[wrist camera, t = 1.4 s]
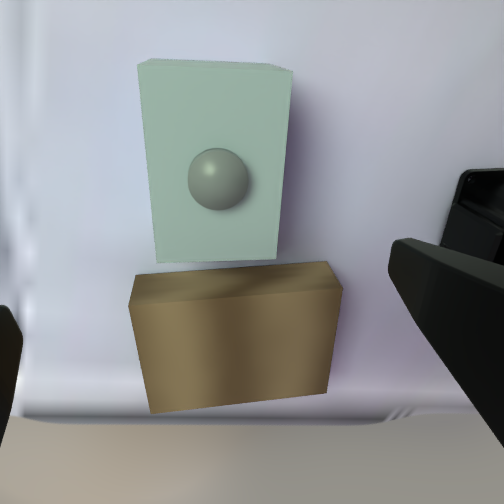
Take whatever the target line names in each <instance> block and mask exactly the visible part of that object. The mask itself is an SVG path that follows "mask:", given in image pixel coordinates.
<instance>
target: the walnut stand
mask: <svg viewBox="0 0 504 504" xmlns="http://www.w3.org/2000/svg"><path fill="white" fill-rule="evenodd" d="M342 291H343V287H342V286H341V284H340V283H339V281H338V279H337V278H336V276H335V274H334V273H333V271H332V269H331V268H330V266H329V265H328V263H327V261H324V262H310V263H296V264H282V265H268V266H254V267H241V268H227V269H213V270H199V271H185V272H171V273H157V274H144V275H136V276H135V280H134V284H133V288H132V292H131V297H130V301H129V305H128V307H129V312H130V316H131V321H132V326H133V331H134V336H135V340H136V345H137V350H138V355H139V360H140V365H141V369H142V374H143V379H144V384H145V389H146V393H147V398H148V403H149V408H150V413H151V414H156V413H164V412H173V411H181V410H189V409H198V408H206V407H215V406H223V405H232V404H240V403H248V402H257V401H265V400H274V399H282V398H291V397H299V396H307V395H316V394H324V393H327V386H328V380H329V374H330V367H331V361H332V355H333V348H334V342H335V335H336V329H337V323H338V316H339V310H340V304H341V297H342Z"/></svg>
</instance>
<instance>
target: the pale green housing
mask: <svg viewBox="0 0 504 504" xmlns="http://www.w3.org/2000/svg"><path fill="white" fill-rule="evenodd" d="M137 69H138V79H139V89H140V99H141V109H142V119H143V129H144V139H145V149H146V159H147V169H148V180H149V190H150V200H151V210H152V220H153V230H154V240H155V250H156V260H157V263H177V262H206V261H235V260H264V259H276V253H277V242H278V231H279V220H280V209H281V198H282V187H283V175H284V164H285V153H286V142H287V131H288V120H289V108H290V97H291V86H292V75H293V71H291V70H287V69H284V68H281V67H278V66H274V65H271V64H264V63H241V62H218V61H195V60H172V59H149V60H147V61H145V62H142V63H140V64H138V65H137Z"/></svg>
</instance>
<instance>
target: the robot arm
mask: <svg viewBox="0 0 504 504" xmlns="http://www.w3.org/2000/svg"><path fill="white" fill-rule="evenodd" d="M471 176H472V177H471ZM469 177H471V179H470V180H469V181H468V179H469ZM388 273H389V276H390V278H391V280H392V282H393V284H394V285H395V287H396V289H397V291H398V293H399V294H400V296H401V298H402V300H403V302H404V303H405V305H406V307H407V309H408V311H409V312H410V314H411V316H412V318H413V319H414V321H415V323H416V324H417V326H418V327H419V329H420V330H421V332H422V333H423V335H424V336H425V337H426V339H427V340H428V342H429V343H430V344H431V346H432V347H433V349H434V350H435V351H436V353H437V354H438V356H439V357H440V359H441V360H442V361H443V363H444V364H445V366H446V367H447V368H448V370H449V371H450V373H451V374H452V375H453V377H454V378H455V380H456V381H457V383H458V384H459V385H460V387H461V388H462V390H463V391H464V392H465V394H466V395H467V397H468V398H469V399H470V401H471V402H472V404H473V405H474V406H475V408H476V409H477V411H478V412H479V414H480V415H481V416H482V418H483V419H484V421H485V422H486V423H487V425H488V426H489V428H490V429H491V430H492V432H493V433H494V435H495V436H496V437H497V439H498V440H499V442H500V443H501V444H502V446H503V447H504V168H492V169H470V170H466V171H465V172H463V174H462V175H461V177H460V179H459V183H458V186H457V189H456V193H455V196H454V200H453V203H452V206H451V210H450V213H449V216H448V220H447V223H446V226H445V230H444V233H443V237H442V240H441V243H440V246H436V245H433V244H430V243H426V242H423V241H420V240H416V239H413V238H405V239H399V240H395V241H394V242H393V244H392V247H391V253H390V258H389V264H388ZM22 347H23V336H22V332H21V330H20V328H19V326H18V324H17V322H16V321H15V319H14V317H13V315H12V313H11V311H10V309H9V308H8V307H7V306H5V305H0V446H1V443H2V439H3V436H4V432H5V429H6V426H7V423H8V419H9V416H10V412H11V408H12V403H13V399H14V393H15V387H16V382H17V376H18V370H19V364H20V358H21V352H22Z"/></svg>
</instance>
